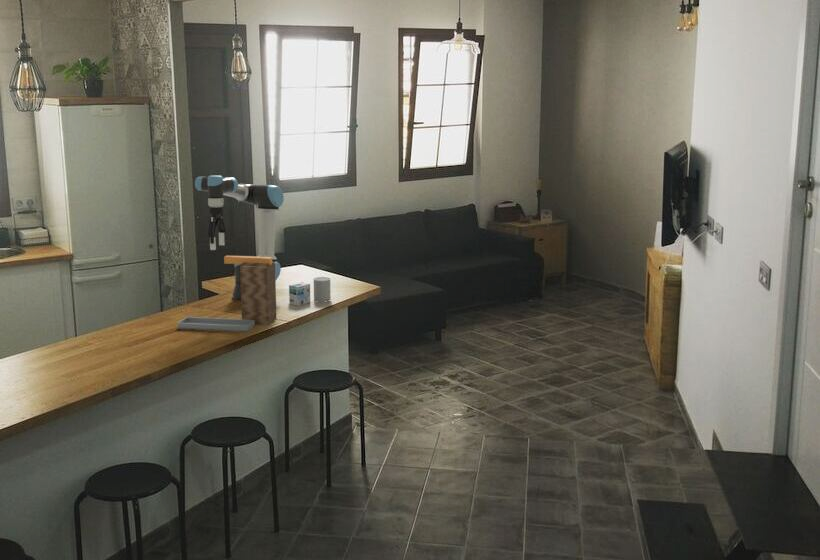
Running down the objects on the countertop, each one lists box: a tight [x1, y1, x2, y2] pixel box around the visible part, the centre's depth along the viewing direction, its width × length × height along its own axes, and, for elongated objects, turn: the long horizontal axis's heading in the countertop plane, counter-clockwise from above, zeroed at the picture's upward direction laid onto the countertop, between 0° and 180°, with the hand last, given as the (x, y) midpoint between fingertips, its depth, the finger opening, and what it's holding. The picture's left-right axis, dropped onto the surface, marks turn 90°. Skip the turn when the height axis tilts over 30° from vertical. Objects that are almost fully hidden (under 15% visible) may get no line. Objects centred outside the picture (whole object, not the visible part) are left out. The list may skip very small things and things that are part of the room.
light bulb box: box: [288, 281, 311, 306], centre depth 485 cm, size 11×7×11 cm, turn 143°
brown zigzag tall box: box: [240, 261, 277, 326], centre depth 446 cm, size 14×14×31 cm
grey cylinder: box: [312, 276, 332, 303], centre depth 492 cm, size 10×10×12 cm
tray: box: [176, 316, 256, 333], centre depth 437 cm, size 36×12×3 cm, turn 82°
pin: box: [223, 255, 272, 265], centre depth 443 cm, size 24×4×4 cm, turn 82°
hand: (217, 247), depth 446 cm, fingers open, 13 cm apart
